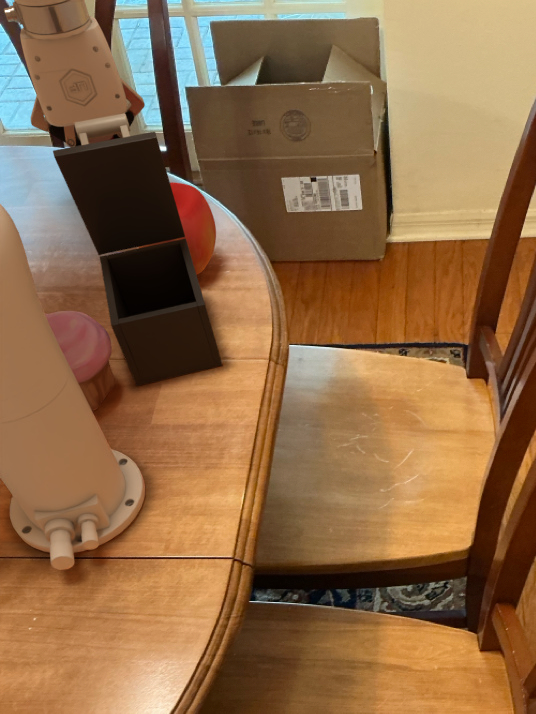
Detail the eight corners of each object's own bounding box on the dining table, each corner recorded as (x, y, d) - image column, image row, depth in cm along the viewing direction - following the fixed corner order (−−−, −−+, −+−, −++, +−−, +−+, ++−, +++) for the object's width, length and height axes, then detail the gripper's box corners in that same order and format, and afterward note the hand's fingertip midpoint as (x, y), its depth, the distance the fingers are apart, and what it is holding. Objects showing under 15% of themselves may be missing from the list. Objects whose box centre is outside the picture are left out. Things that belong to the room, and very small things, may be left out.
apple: (185, 239, 101) (164, 164, 92) (241, 261, 97) (224, 186, 89) (133, 278, 96) (106, 203, 88) (190, 302, 93) (167, 227, 85)
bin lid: (156, 137, 73) (143, 92, 75) (54, 156, 72) (43, 110, 73) (185, 237, 86) (173, 197, 88) (98, 255, 84) (88, 214, 86)
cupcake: (103, 432, 80) (67, 358, 72) (31, 417, 82) (-13, 343, 74) (143, 375, 85) (112, 300, 77) (74, 363, 87) (37, 288, 79)
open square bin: (222, 365, 86) (205, 304, 79) (136, 386, 84) (111, 325, 78) (203, 299, 93) (185, 238, 86) (123, 317, 91) (99, 256, 85)
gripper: (-22, 37, 86) (45, 194, 100) (130, 13, 88) (173, 169, 103) (-22, 12, 90) (42, 166, 105) (123, -10, 93) (166, 143, 107)
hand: (107, 166), depth 104 cm, fingers closed on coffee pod, 4 cm apart
